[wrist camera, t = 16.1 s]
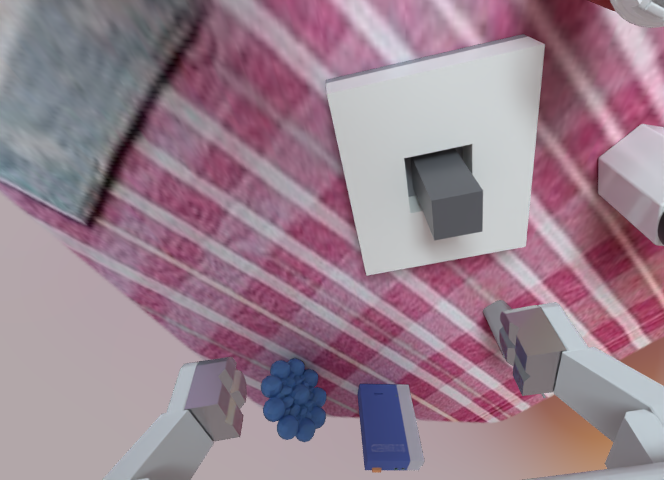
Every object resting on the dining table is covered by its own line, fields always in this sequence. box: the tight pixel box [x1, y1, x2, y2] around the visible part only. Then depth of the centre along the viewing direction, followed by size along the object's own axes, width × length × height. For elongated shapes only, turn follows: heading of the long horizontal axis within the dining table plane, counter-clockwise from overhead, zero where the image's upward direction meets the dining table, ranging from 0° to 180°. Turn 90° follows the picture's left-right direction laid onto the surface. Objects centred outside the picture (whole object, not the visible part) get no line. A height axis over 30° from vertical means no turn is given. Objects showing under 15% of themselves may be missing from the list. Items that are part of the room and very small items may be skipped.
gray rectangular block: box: [410, 148, 483, 240], centre depth 36 cm, size 4×4×9 cm
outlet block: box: [326, 34, 545, 276], centre depth 39 cm, size 20×17×4 cm
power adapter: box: [483, 300, 546, 398], centre depth 50 cm, size 3×5×12 cm, turn 43°
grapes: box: [261, 358, 326, 442], centre depth 55 cm, size 12×7×12 cm, turn 42°
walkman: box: [358, 384, 424, 472], centre depth 59 cm, size 8×3×12 cm, turn 85°
